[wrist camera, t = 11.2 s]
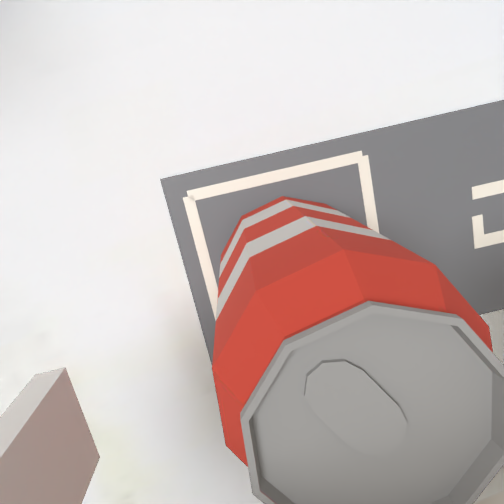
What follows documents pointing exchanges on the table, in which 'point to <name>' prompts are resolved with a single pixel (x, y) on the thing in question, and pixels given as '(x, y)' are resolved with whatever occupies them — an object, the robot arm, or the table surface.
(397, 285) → the beverage can
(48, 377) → the robot arm
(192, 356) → the table surface
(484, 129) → the charcoal board
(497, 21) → the table surface
